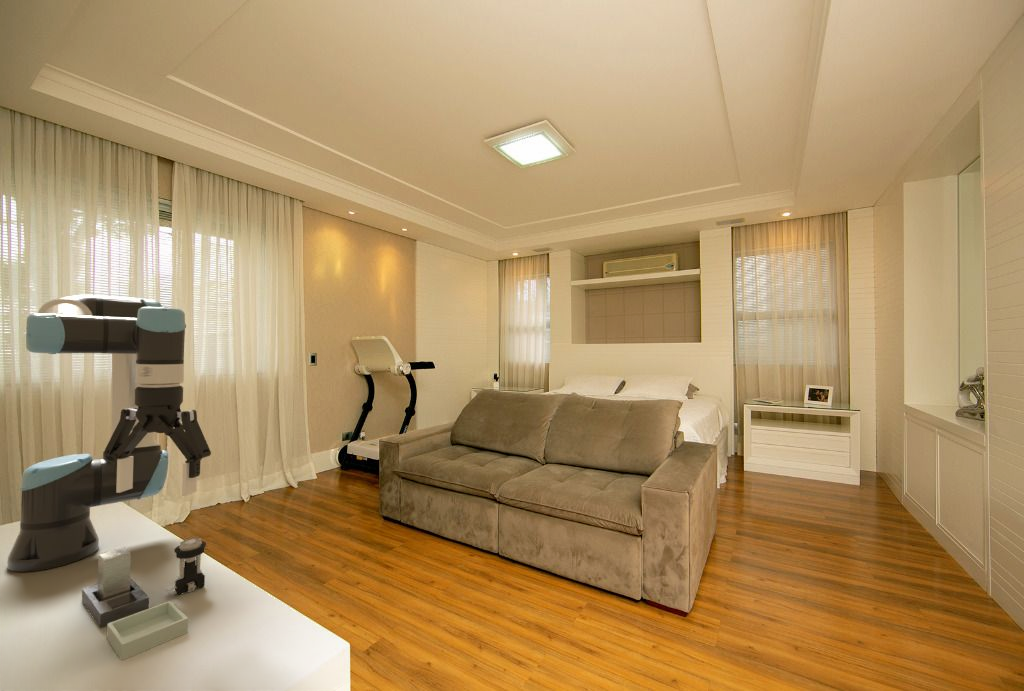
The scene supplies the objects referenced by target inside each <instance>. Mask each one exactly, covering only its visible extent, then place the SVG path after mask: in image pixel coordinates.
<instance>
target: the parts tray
mask: <svg viewBox="0 0 1024 691" xmlns="http://www.w3.org/2000/svg"><path fill="white" fill-rule="evenodd" d="M188 624H189V617H188V616H186V615H185V614H184V612H182V611H181V610H180V608H178V606H176V605H175V604H174V603H173V602H172V601H171V600H168V601H166V602H163V603H160V604H157V605H155V606H152V607H149V609H146V610H143V611H141V612H138V613H135V614H133V615H130V616H127V617H124V618H122V619H119V620H116V621H114V622H111V623H108V624H107V626H106V640H107V641H108V642H109V644H110V645H111V647H112V648H113V650H114V652H115V653H116V654H117V655H118V657H119V659H120V660H121V661H124V660H126V659H128V658H131V657H133V656H135V655H138V654H140V653H142V652H145V651H147V650H149V649H151V648H154V647H156V646H159V645H161V644H163V643H166V642H168V641H171V640H172V639H176V638H177V637H180V636H182V635H185V634H186V633H189V632H188V630H189V629H188V628H189V625H188Z"/></svg>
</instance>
